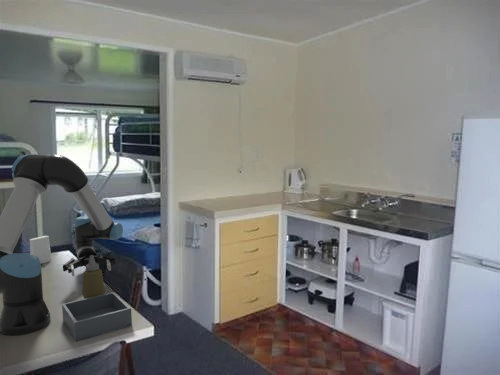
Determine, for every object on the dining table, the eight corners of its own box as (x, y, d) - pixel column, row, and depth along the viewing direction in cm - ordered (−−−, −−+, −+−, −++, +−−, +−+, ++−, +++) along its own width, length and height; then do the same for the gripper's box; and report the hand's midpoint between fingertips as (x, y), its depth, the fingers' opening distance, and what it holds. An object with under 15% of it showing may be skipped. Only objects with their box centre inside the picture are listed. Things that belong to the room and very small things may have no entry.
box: (131, 325, 137) (131, 308, 136) (75, 341, 126) (74, 322, 126) (114, 307, 151) (113, 292, 150) (63, 320, 141) (61, 304, 140)
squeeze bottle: (82, 299, 159) (79, 254, 156) (104, 295, 162) (101, 251, 160) (83, 307, 151) (80, 259, 149) (106, 303, 155) (104, 256, 152)
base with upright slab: (44, 257, 214) (42, 234, 212) (54, 259, 209) (53, 236, 208) (27, 262, 206) (25, 238, 205) (38, 264, 202) (36, 240, 200)
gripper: (116, 260, 187) (124, 274, 169) (56, 268, 177) (57, 284, 158) (116, 244, 187) (124, 256, 168) (55, 251, 176) (56, 265, 157)
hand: (91, 270), depth 163 cm, fingers open, 13 cm apart
